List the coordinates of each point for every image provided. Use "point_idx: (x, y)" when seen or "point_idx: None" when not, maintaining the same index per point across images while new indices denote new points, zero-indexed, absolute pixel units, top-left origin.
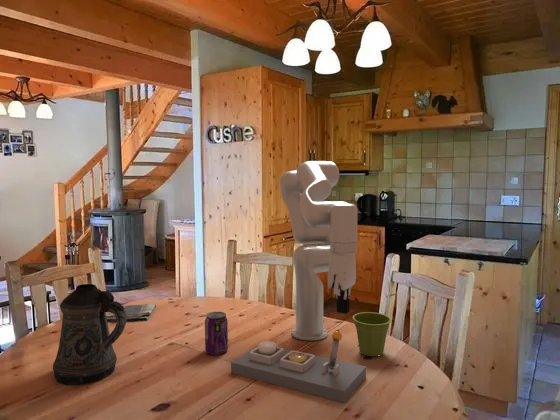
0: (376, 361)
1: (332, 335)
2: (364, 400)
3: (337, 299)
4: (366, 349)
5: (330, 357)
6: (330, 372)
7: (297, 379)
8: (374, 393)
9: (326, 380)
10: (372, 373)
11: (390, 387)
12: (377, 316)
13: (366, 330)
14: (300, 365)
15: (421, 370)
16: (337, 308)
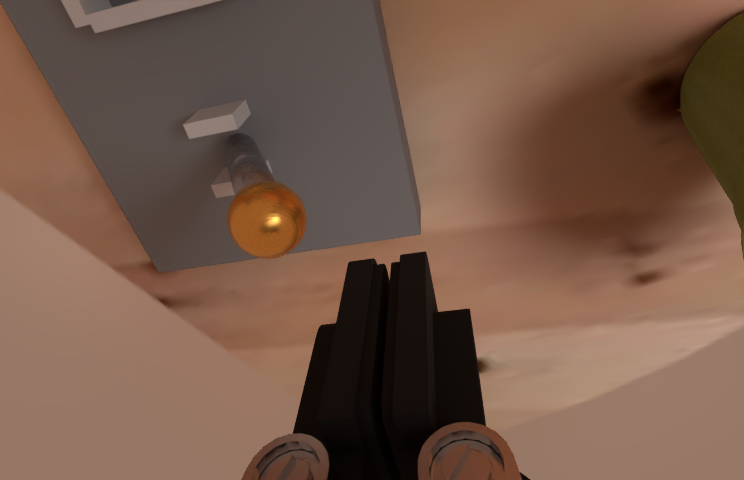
0: (631, 161)
1: (232, 202)
2: (252, 282)
3: (326, 409)
4: (692, 105)
5: (229, 155)
6: None
7: (32, 55)
8: (321, 285)
9: (156, 175)
10: (477, 209)
11: None
12: None
13: (737, 181)
14: (69, 11)
15: (625, 333)
16: (344, 298)
